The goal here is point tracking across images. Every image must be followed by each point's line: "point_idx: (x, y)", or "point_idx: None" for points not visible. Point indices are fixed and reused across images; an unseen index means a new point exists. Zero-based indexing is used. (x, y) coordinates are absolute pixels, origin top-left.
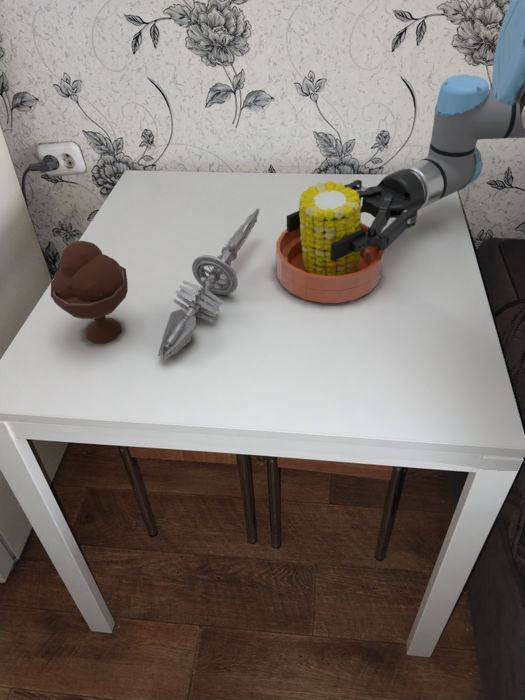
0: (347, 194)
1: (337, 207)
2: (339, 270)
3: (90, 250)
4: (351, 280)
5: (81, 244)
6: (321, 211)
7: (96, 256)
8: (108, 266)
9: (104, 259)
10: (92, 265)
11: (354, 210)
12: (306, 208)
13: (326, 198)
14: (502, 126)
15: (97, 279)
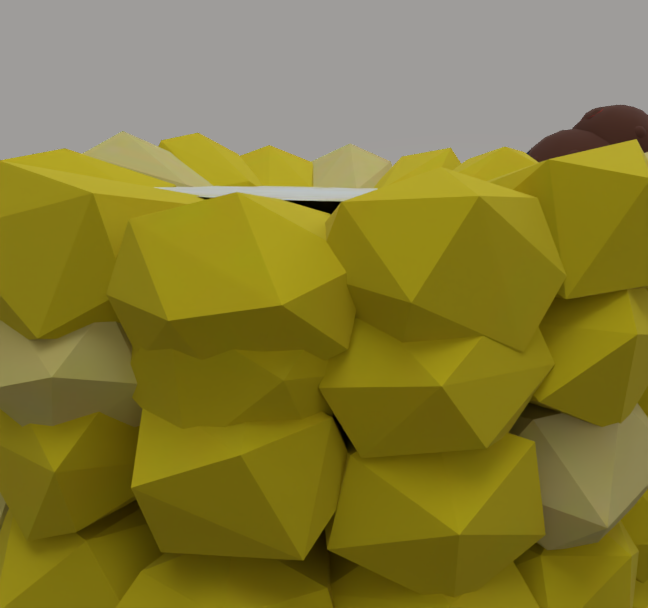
0: (163, 193)
1: (179, 186)
2: None
3: (598, 116)
4: None
5: (617, 106)
6: (264, 161)
7: (588, 131)
8: (554, 144)
9: (575, 137)
10: (559, 131)
11: None
12: (381, 161)
13: (367, 192)
14: None
15: (531, 149)
